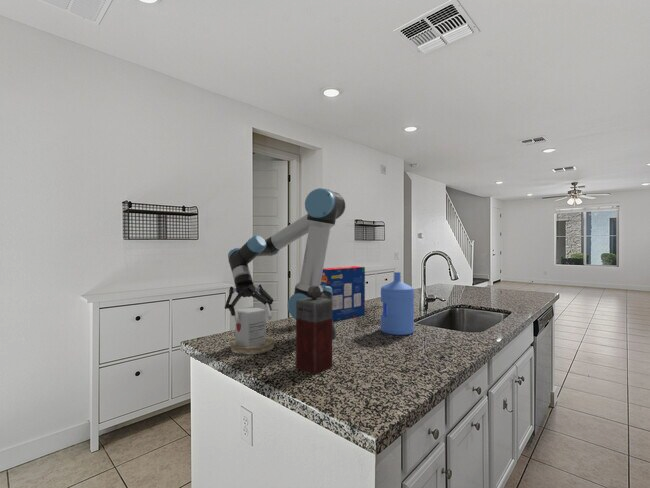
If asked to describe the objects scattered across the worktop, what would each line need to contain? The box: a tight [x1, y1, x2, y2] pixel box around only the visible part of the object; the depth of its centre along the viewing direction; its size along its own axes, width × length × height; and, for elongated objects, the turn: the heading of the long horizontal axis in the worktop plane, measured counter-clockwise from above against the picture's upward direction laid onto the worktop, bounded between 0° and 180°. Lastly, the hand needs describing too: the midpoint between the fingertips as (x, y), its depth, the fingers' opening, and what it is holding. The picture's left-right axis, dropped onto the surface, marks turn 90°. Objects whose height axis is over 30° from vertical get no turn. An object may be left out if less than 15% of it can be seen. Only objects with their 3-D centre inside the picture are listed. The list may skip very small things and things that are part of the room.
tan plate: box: [229, 335, 275, 355], centre depth 141 cm, size 17×17×2 cm
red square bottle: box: [295, 286, 333, 375], centre depth 119 cm, size 9×11×28 cm
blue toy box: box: [320, 265, 366, 323], centre depth 194 cm, size 28×8×28 cm, turn 131°
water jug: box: [380, 271, 415, 336], centre depth 166 cm, size 16×16×28 cm
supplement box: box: [235, 306, 267, 347], centre depth 140 cm, size 9×9×15 cm
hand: (254, 319), depth 139 cm, fingers open, 13 cm apart
